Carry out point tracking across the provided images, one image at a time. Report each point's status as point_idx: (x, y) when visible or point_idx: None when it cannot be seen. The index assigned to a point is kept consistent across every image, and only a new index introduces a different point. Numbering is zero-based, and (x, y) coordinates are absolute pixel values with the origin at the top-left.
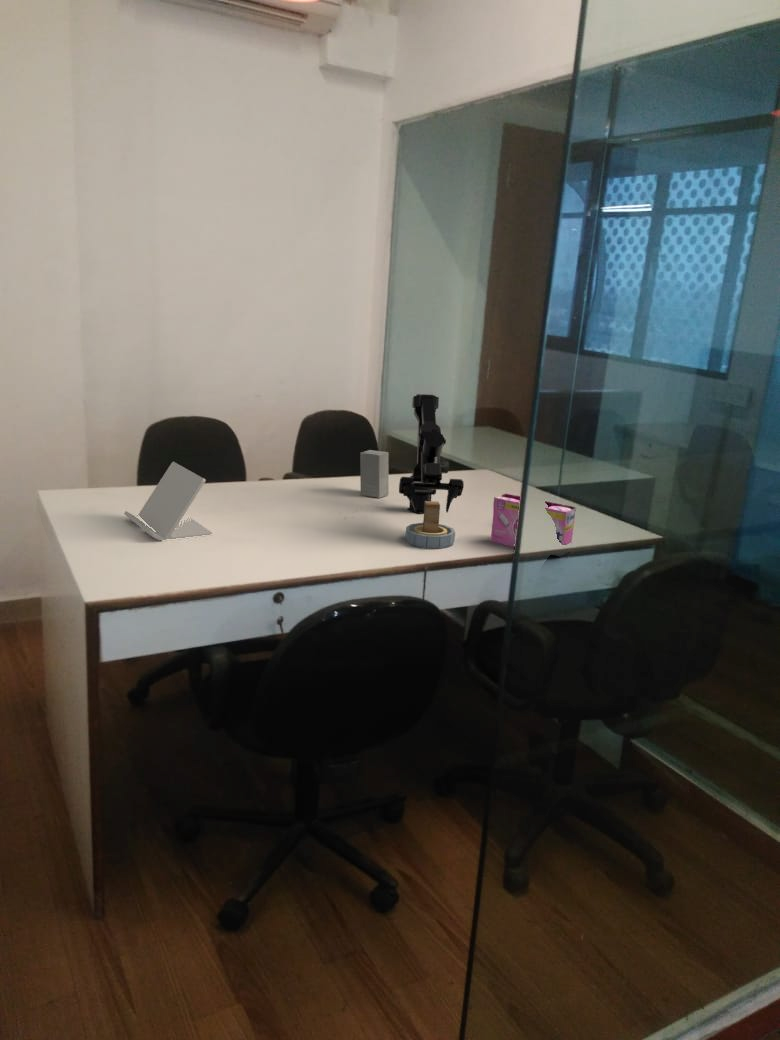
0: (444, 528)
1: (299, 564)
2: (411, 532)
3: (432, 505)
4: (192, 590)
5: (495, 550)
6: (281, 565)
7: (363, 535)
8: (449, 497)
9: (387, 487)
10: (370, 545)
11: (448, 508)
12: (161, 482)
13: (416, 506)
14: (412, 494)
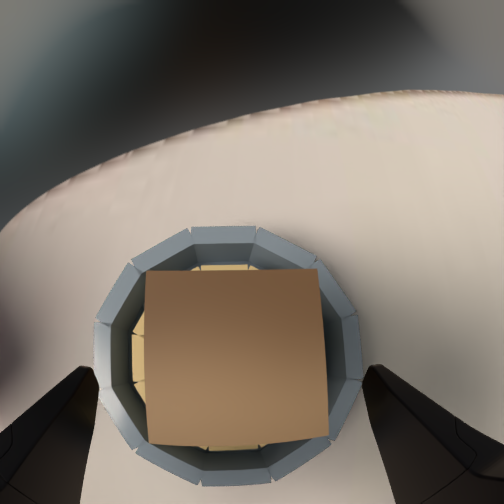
0: (142, 388)
1: (484, 139)
2: (336, 283)
3: (240, 273)
4: (498, 95)
5: (7, 255)
6: (496, 140)
7: (466, 369)
8: (11, 453)
9: None
10: (439, 262)
11: (68, 377)
12: None
13: (384, 380)
14: (479, 446)
